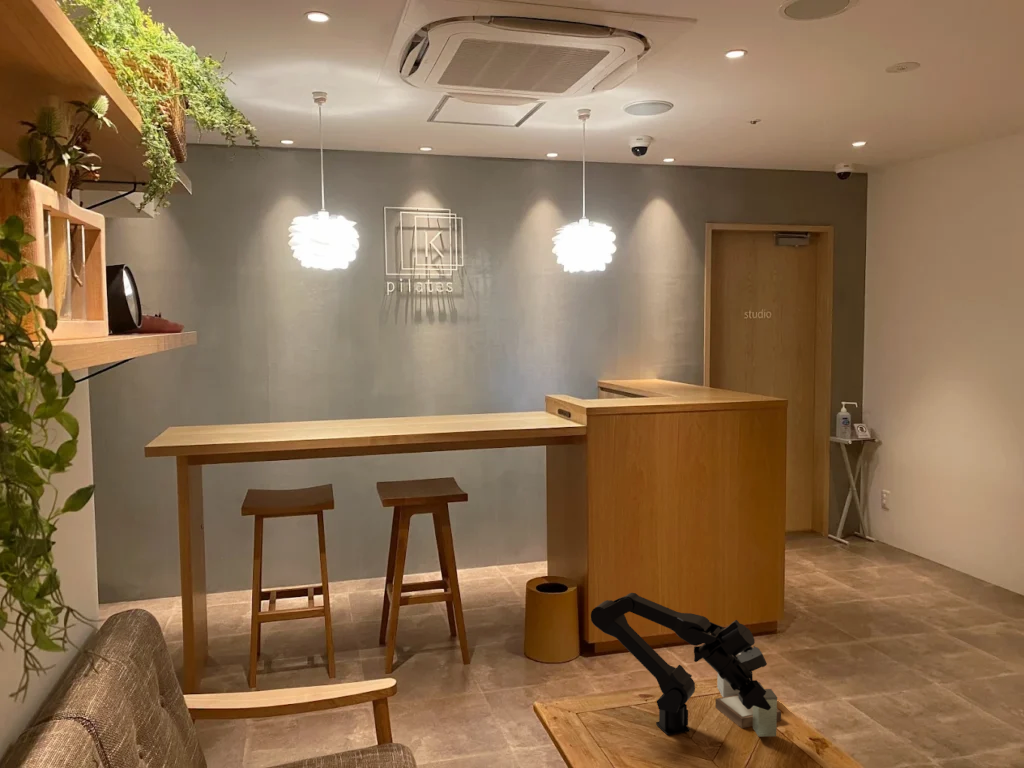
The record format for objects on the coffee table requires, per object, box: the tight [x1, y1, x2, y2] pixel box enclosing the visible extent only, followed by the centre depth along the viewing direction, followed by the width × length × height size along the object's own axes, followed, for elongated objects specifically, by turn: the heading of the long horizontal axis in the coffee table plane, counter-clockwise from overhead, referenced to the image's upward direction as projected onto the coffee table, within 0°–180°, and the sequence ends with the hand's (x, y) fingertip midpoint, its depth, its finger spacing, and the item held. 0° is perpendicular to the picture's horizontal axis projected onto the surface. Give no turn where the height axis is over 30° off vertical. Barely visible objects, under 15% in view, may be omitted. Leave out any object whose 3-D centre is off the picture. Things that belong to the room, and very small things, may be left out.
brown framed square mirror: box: [715, 695, 782, 729], centre depth 218 cm, size 12×12×3 cm
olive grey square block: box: [752, 688, 778, 737], centre depth 205 cm, size 5×5×10 cm
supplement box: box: [716, 653, 741, 698], centre depth 230 cm, size 7×7×13 cm
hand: (766, 704), depth 205 cm, fingers closed on olive grey square block, 4 cm apart
